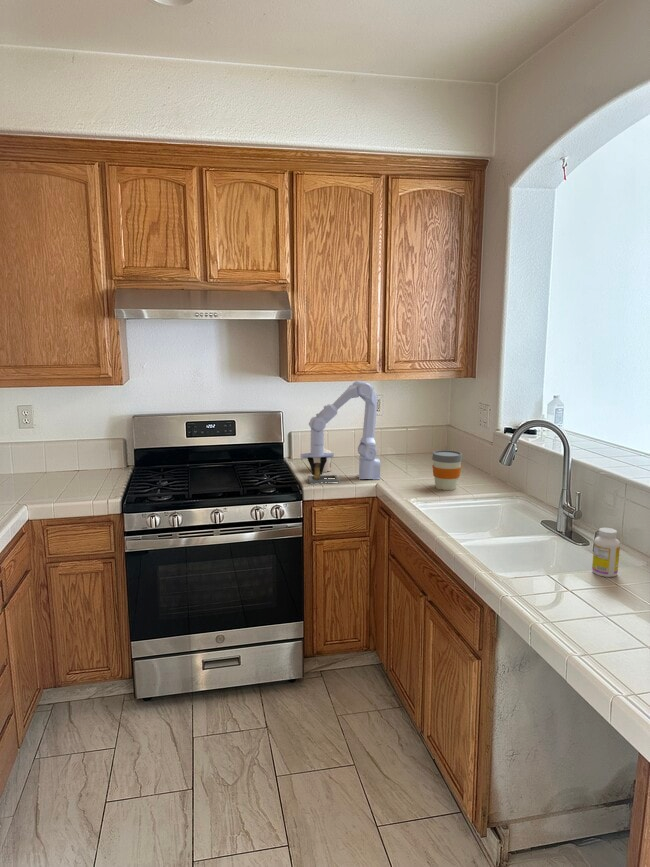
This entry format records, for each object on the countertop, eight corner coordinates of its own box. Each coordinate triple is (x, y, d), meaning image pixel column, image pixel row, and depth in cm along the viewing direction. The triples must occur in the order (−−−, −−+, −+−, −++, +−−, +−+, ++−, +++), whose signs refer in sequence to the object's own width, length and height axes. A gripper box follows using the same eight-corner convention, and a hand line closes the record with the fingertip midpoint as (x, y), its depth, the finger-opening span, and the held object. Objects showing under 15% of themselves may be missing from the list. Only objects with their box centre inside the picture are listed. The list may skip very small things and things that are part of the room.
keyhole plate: (336, 478, 277) (336, 475, 276) (338, 483, 269) (338, 479, 269) (307, 479, 275) (307, 475, 275) (309, 483, 267) (309, 480, 267)
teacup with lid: (334, 472, 289) (334, 447, 286) (316, 473, 286) (316, 449, 284) (326, 466, 300) (326, 443, 298) (308, 467, 297) (308, 444, 295)
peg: (320, 480, 273) (320, 462, 272) (320, 481, 270) (320, 464, 269) (313, 480, 273) (313, 462, 272) (313, 481, 270) (313, 464, 269)
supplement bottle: (610, 568, 178) (614, 526, 175) (621, 577, 171) (626, 534, 169) (587, 568, 177) (591, 526, 175) (598, 578, 171) (602, 534, 169)
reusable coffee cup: (439, 492, 256) (440, 457, 253) (426, 484, 267) (427, 450, 265) (466, 490, 259) (467, 455, 256) (452, 482, 271) (453, 449, 268)
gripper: (332, 442, 273) (332, 471, 276) (299, 442, 272) (300, 472, 274) (334, 445, 266) (334, 475, 269) (301, 445, 265) (301, 476, 267)
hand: (317, 474), depth 271 cm, fingers closed on peg, 3 cm apart
